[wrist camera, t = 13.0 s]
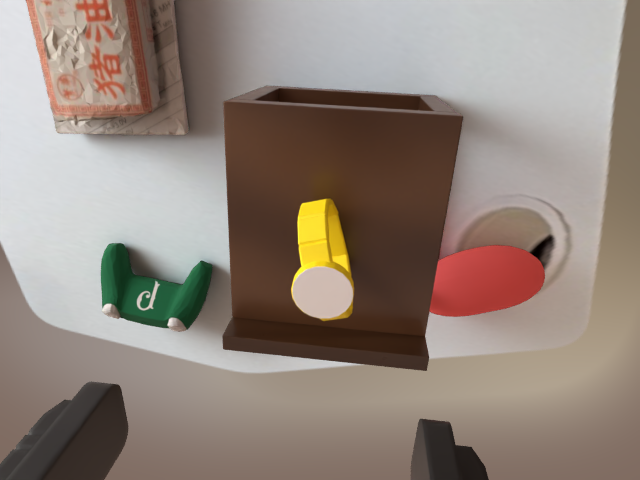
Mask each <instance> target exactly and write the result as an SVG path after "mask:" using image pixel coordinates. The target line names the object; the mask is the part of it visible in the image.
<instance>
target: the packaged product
mask: <svg viewBox="0 0 640 480" xmlns="http://www.w3.org/2000/svg"><path fill="white" fill-rule="evenodd" d="M26 2H27V6H28V11H29V16H30V20H31V24H32V28H33V33H34V37H35V40H36V46H37V50H38V53H39V57H40V62H41V67H42V71H43V76H44V80H45V84H46V88H47V93H48V97H49V100H50V107H51V110H52V112H53V117H54V121H55V128H56V131H57V133H73V134H81V133H83V134H150V135H186V134H187V133H188V132H189V127H188V119H187V111H186V103H185V95H184V87H183V79H182V73H181V67H180V62H179V51H178V40H177V29H176V18H175V8H174V0H26Z"/></svg>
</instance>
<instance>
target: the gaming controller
mask: <svg viewBox="0 0 640 480" xmlns="http://www.w3.org/2000/svg"><path fill="white" fill-rule="evenodd" d="M211 274H212V265H211V264H209V263H206V262H204V261H200V262H199V263H198V264H197V265H196V266H195V267H194V268H193V269H192V271H191V273H190V274H189V276H188V277H187V279H186V281H185V283H184V284H182V285H181V284H176V283H172V282H168V281H163V280H159V279H154V278H149V277H144V276H139V275H135V274H134V273H133V272H132V268H131V264H130V259H129V255H128V252H127V249H126V247H125V246H124V245H123V244H121V243H112V244H109V245H108V246H107V248H106V249H105V251H104V254H103V257H102V263H101V286H102V308H103V310H102V311H103V313H104V314H106V315H108V316H110V317H113V318H117V319H119V318H120V317H121V318H124V319H126V320H129V321H133V322H137V323H141V324H145V325H150V326H156V327H161V328H170V329H171V330H173V331H178V332H181V331H186V330H187V329H189V327H190V326H191V325H192V323H193V322H194V321H195V319H196V318H197V316H198V315H199V313H200V311H201V309H202V306H203V304H204V302H205V299H206V296H207V292H208V288H209V285H210V280H211Z"/></svg>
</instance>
